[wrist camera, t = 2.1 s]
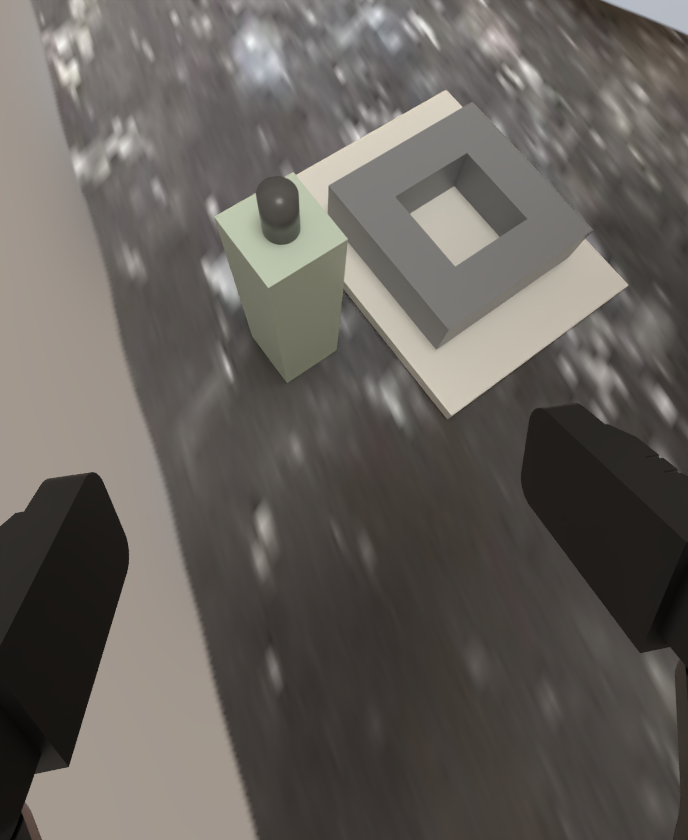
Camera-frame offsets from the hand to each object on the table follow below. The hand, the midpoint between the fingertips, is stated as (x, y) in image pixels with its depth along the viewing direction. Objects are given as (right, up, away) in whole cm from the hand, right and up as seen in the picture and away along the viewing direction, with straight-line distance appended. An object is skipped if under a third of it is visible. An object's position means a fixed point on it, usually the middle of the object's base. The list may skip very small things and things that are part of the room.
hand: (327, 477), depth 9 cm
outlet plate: (+7, +13, +25) cm, 29 cm away
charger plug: (-3, +6, +22) cm, 24 cm away
